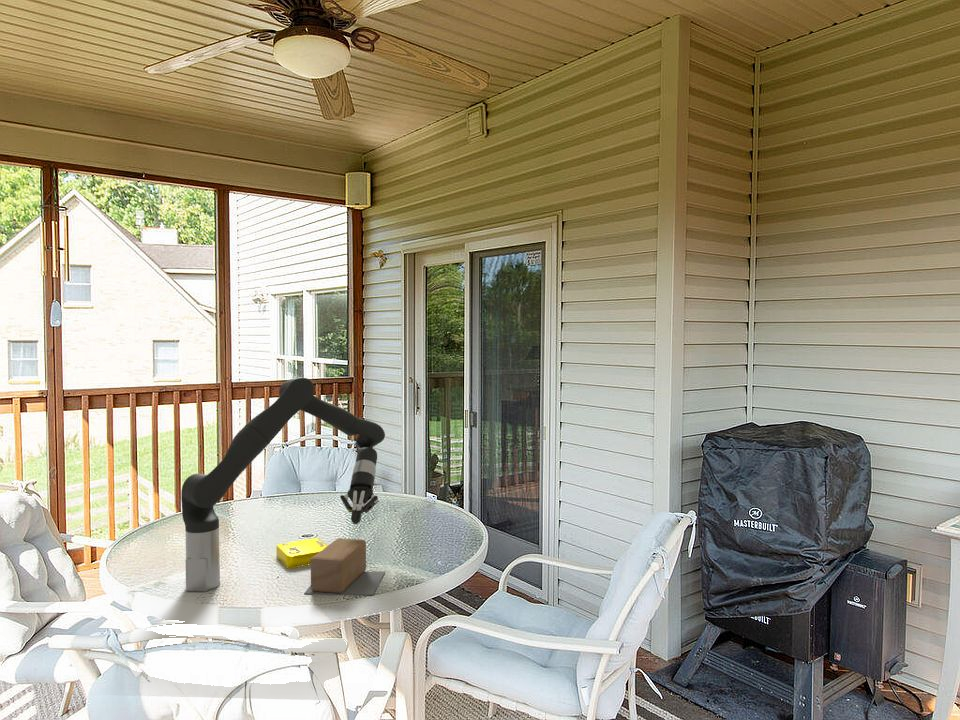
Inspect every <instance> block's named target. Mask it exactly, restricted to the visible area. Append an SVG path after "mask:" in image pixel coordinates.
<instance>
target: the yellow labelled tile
mask: <svg viewBox="0 0 960 720" xmlns="http://www.w3.org/2000/svg"><path fill="white" fill-rule="evenodd" d="M328 545H329V544H327V543H325V542H324V541H322V540H321V539H320V538H317V537H314V538H308V539H302V540H295V541H290V542H285V543H278V544H277V545H276V547H275V548H276V559H279V560H280V561H281V562H282V563H283V564H284V565H285V566H286V567H288V568H287V569H295V568H294V567H296V568H299V567H298V566H302V565H307V566H309V565H308V564H311V558H312V557H313V556H315V555H316V554H317V553H319V552H320V551H321V550H323V549H324V548H325V547H327V546H328ZM279 560H278V561H279ZM281 562H280V563H281ZM282 563H281V564H282ZM283 564H282V565H283ZM284 565H283V566H284ZM285 566H284V567H285ZM286 567H285V568H286ZM302 567H303V566H302Z"/></svg>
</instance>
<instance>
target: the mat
mask: <svg viewBox="0 0 960 720" xmlns="http://www.w3.org/2000/svg"><path fill="white" fill-rule="evenodd" d="M384 573H385V574H386V571H364V572H363V573H362V574H361V575H360V576H359V577H358V578H357V579H356V580H355V581H354V582H353V583H352V584H351V585H349V586H348V587H347V588H346V589H345V590H344V591H343V592H342V593H333V592H320V591H312V590H311V584H310V586H309V587H308V588H307V589H306V590H305V592H304V593H303V594H304V595H317V596H318V595H323V596H324V595H327V596H328V595H330V596H331V595H332V596H334V595H335V596H374V595H375V593H376V591H377V589H378V587H379V586H380V583H381V581H382V579H383V578H384V576H385V574H384ZM383 575H384V576H383ZM382 577H383V578H382Z"/></svg>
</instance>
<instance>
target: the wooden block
mask: <svg viewBox="0 0 960 720" xmlns="http://www.w3.org/2000/svg"><path fill="white" fill-rule="evenodd" d="M327 545H328V546H327V547H325V548H324V549H323V550H321V551H320V552H319V553H317V554H316V555H315V556H313V557H312V558H311V565H310V585H311V590H312V591H320V592H333V593H342V592H343V591H344V590H345V589H346V588H347V587H348V586H349V585H351V584H352V583H353V582H354V581H355V580H356V579H357V578H358V577H359V576H360V575H361V574H362V573H363V572H366V569H367V542H366V540H364V539H356V538H355V539H354V538H343V537H342V538H336V539H334V540H333V541H332V542H331V543H329V544H327Z"/></svg>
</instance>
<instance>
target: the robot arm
mask: <svg viewBox="0 0 960 720" xmlns="http://www.w3.org/2000/svg"><path fill="white" fill-rule="evenodd" d="M278 389H279V390H278V394H279V396H278V398H277V399H276V400H275V401H274V403H272V404H271V405H269V407H267V408H266V409H264V410H262V411H261V412H260V413H258V414H257V415H256V416H255V417H253V418H252V419H251V420H249V421H248V422H247V423H246V424H245V425H244V426H243V427H242V428H241V429H240V430H239V431H238V432H237V433H236V435H235V436H234V437H233V438H232V440H231V442H230V444H229V447H228V449H227V451H226V453H225V455H224V457H223V458H222V460H221V461H220V462H219V464H217V466H215V467H214V468H213V469H212V470H211V471H210V472H209V473H208V474H205V473H194V474H191V475H190V476H188V477H187V478H186V479H184V482H183V483H182V486H181V491H180V492H181V494H180V495H181V512H182V513H181V515H182V520H183V523H184V527H185V531H184V532H185V591H186V592H208V591H210V590H213V589H215V588H217V587H219V586H220V585H221V571H220V567H221V566H220V565H221V563H220V561H221V560H220V558H221V557H220V555H221V553H220V518H219V516H218V515H217V514H216V512H215V509H214V506H215V505H216V504H218V503H219V501H221V500H222V498H223V497H224V495H225V494H227V492H228V490H230V488H231V487H232V485H233V484H234V483H235V481H236V480H237V479H238V477H239V476H240V475H241V474H242V473H243V472H244V471H245V470H246V469H247V468H248V467H249V466H250V464H252V462H253V461H254V460H255V459H256V458H257V457H258V456H259V455H261V453H262V452H263V451H264V450H265V449H266V448H267V446H268V445H269V444H270V443H271V442H272V441H273V439H274V438H275V437H276V436H277V435H278V434H279V433H280V431H281V430H283V428H284V427H285V425H286V424H287V423H288V422H289V421H290V420H291V418H293V417H294V416H295V415H296V414H297V413H299V411H302V412H304V413H307V414H309V415H311V416H314V417H316V418H317V419H319V420H321V421H323V422H324V423H326V424H328V425H330V426H332V427H333V428H335V429H337V430H338V431H340V433H341V432H342V433H343V434H345V435H346V436H350V437H353V436H356V435H357V436H356V438H355V449H356V458H355V464H354V467H353V470H352V476H351V481H350V486H349V489H348V491H347V493H346V494H345V495H344V494H342V495H340V496H339V497H340V500H341V502H342V504H343V506H344V508H346V510H347V512H348V513H351V517H350V521H351V523H352V524H353V525H358V524H359V523H361V519H362V514H364V513H368V512H369V511H370V510H371V509H373V507H374V506H376V505H377V504H378V503H379V501H380V500H379V497H378V495H375V494H374V491H373V490H374V483H375V478H376V469H377V462H378V452H377V450H376V449H375V448H374V447H375V446H377V445H379V444H380V443H382V442H383V441H384V440H385V438H386V432H385V430H384V429H383V427H382V426H381V425H379V424H378V423H376V422H373V421H370V420H368V419H364V418H360V417H358V416H356V415H355V414H353V413H351V412H350V411H348V410H347V409H344V408H343V407H340V406H338V405H335V404H332V403H330V402H327V401H325V400H323V399H321V398H318V397H317V396H315V385H314V383H313V381H311V379H309V378H308V377H301V376H299V377H294V378H291V379H287V380H286V381H284V382H283V383H282V384H281V385H280V386H279V388H278ZM349 499H350V501H351V503H352V505H351V504H350V503H349Z"/></svg>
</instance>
